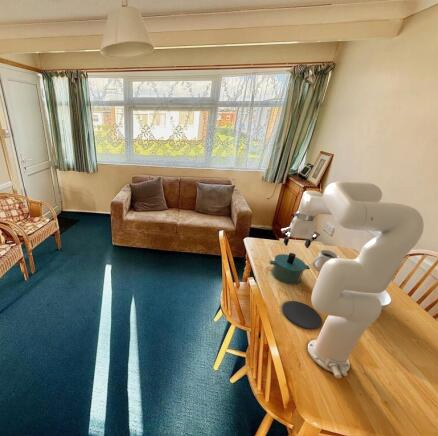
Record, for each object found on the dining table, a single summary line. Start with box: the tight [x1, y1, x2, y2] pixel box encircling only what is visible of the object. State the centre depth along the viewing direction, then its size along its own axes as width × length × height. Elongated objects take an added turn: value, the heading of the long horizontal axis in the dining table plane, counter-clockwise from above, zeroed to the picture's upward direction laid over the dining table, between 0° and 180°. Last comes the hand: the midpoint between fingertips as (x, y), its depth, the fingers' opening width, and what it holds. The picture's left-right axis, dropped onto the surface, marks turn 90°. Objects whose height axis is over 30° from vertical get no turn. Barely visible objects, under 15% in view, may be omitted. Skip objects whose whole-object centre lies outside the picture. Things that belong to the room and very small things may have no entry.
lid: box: [273, 252, 307, 272], centre depth 122 cm, size 15×15×6 cm
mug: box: [312, 249, 340, 272], centre depth 130 cm, size 11×10×10 cm
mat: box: [281, 300, 323, 330], centre depth 102 cm, size 15×15×1 cm
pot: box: [269, 259, 311, 285], centre depth 125 cm, size 14×19×8 cm
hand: (295, 245), depth 118 cm, fingers open, 9 cm apart
